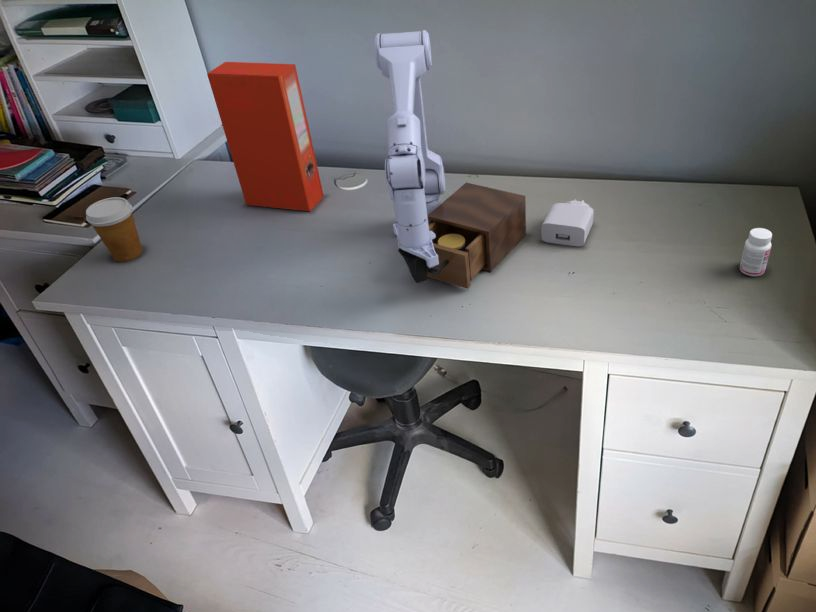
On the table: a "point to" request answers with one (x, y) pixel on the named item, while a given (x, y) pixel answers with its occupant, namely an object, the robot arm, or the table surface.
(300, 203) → the file binder
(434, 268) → the drawer
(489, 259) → the cabinet
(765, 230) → the pill bottle
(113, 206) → the disposable coffee cup
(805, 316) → the table surface
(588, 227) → the charger
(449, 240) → the tin
